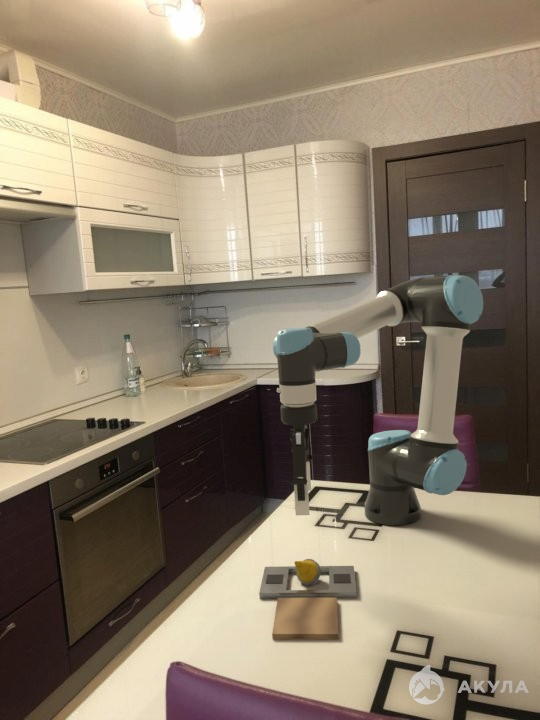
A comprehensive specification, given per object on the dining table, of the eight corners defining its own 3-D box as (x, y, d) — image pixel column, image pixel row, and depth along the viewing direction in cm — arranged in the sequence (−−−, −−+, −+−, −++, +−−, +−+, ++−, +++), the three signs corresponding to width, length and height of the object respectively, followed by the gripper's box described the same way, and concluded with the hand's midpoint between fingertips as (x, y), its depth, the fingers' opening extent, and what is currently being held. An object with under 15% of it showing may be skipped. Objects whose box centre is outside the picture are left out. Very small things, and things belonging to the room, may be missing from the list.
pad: (337, 602, 114) (336, 597, 113) (338, 639, 102) (338, 633, 102) (278, 602, 115) (277, 597, 115) (272, 638, 103) (272, 633, 103)
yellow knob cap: (328, 584, 122) (308, 569, 115) (307, 592, 123) (285, 578, 116) (323, 561, 125) (303, 545, 119) (302, 569, 127) (281, 554, 120)
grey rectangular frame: (354, 570, 126) (353, 565, 125) (356, 597, 115) (356, 591, 114) (265, 571, 128) (264, 566, 127) (259, 598, 117) (259, 592, 117)
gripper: (284, 392, 129) (289, 481, 131) (274, 417, 104) (281, 526, 107) (317, 391, 128) (321, 480, 131) (315, 416, 103) (321, 526, 106)
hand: (303, 501), depth 119 cm, fingers open, 13 cm apart
